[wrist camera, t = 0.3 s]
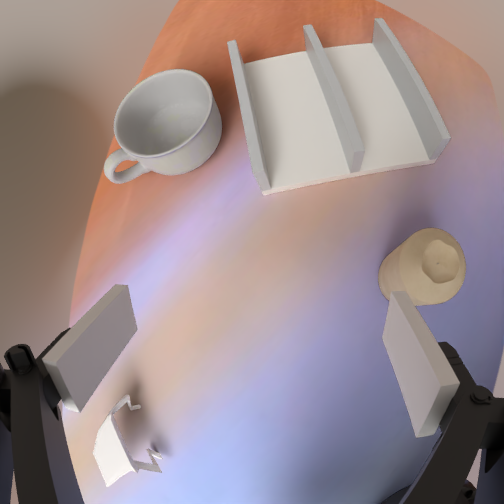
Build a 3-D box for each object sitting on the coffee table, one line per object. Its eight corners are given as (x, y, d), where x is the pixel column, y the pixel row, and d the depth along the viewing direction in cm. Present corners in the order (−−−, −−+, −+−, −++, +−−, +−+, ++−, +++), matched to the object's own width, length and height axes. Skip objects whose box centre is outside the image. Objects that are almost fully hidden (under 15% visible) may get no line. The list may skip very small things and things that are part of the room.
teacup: (203, 93, 37) (181, 53, 29) (250, 148, 34) (232, 106, 26) (116, 159, 38) (80, 130, 30) (148, 222, 35) (108, 199, 27)
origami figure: (175, 484, 29) (156, 503, 24) (116, 472, 30) (94, 486, 25) (160, 392, 31) (137, 402, 26) (100, 386, 32) (74, 393, 28)
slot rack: (433, 163, 29) (451, 138, 24) (263, 195, 32) (252, 172, 27) (378, 48, 33) (382, 18, 28) (238, 71, 36) (227, 41, 31)
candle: (381, 311, 28) (410, 310, 18) (373, 253, 29) (397, 227, 20) (433, 301, 27) (479, 295, 18) (424, 246, 28) (465, 218, 19)
